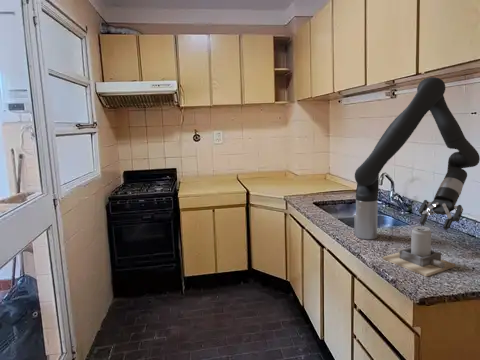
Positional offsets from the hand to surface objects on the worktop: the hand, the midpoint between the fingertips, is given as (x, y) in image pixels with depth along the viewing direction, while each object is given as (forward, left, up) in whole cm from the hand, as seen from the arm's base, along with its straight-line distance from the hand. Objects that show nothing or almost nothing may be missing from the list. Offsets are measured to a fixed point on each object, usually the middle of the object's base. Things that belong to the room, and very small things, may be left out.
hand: (433, 226), depth 132 cm
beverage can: (+2, -8, -11) cm, 14 cm away
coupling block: (+1, -10, -12) cm, 15 cm away
